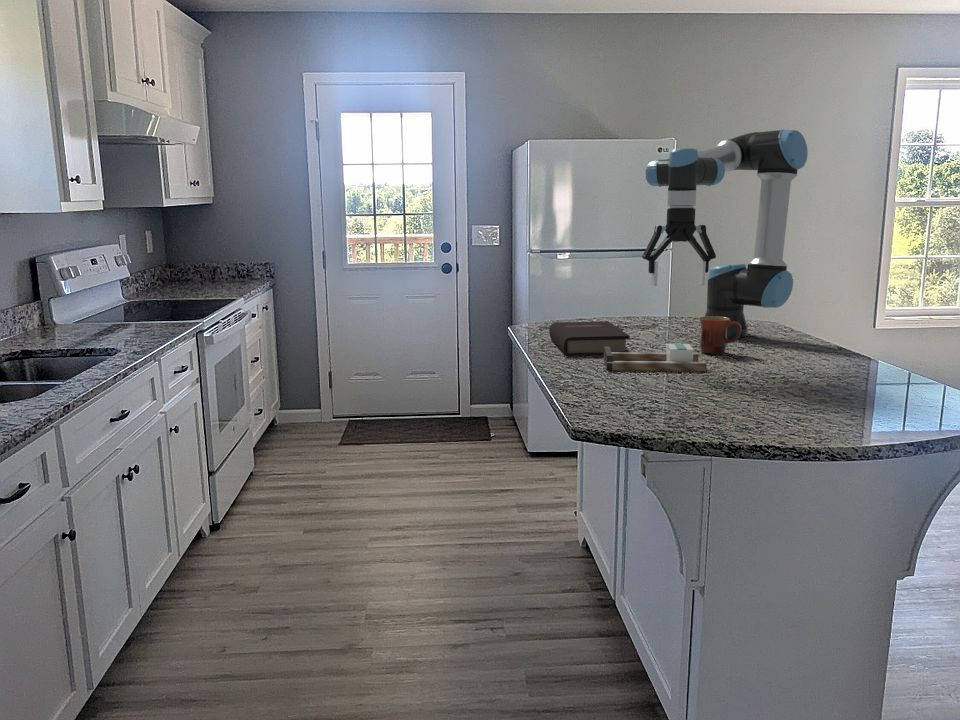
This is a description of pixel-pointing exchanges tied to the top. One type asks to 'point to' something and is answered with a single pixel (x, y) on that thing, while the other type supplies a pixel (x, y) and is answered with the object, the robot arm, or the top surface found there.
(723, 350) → the mug
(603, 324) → the book
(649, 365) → the rail board
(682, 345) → the block
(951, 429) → the top surface
